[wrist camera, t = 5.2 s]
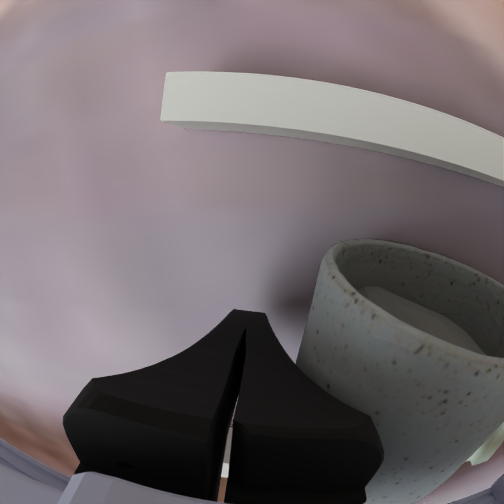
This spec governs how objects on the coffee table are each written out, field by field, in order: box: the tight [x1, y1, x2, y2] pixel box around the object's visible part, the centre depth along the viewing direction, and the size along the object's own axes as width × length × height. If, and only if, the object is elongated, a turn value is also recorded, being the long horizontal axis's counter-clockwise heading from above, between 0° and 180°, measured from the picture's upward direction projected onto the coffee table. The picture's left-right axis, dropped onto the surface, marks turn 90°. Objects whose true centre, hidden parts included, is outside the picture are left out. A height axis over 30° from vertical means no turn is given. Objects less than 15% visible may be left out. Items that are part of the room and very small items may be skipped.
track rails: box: [160, 72, 504, 478], centre depth 11 cm, size 17×18×2 cm
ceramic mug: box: [296, 239, 504, 504], centre depth 8 cm, size 11×8×8 cm
